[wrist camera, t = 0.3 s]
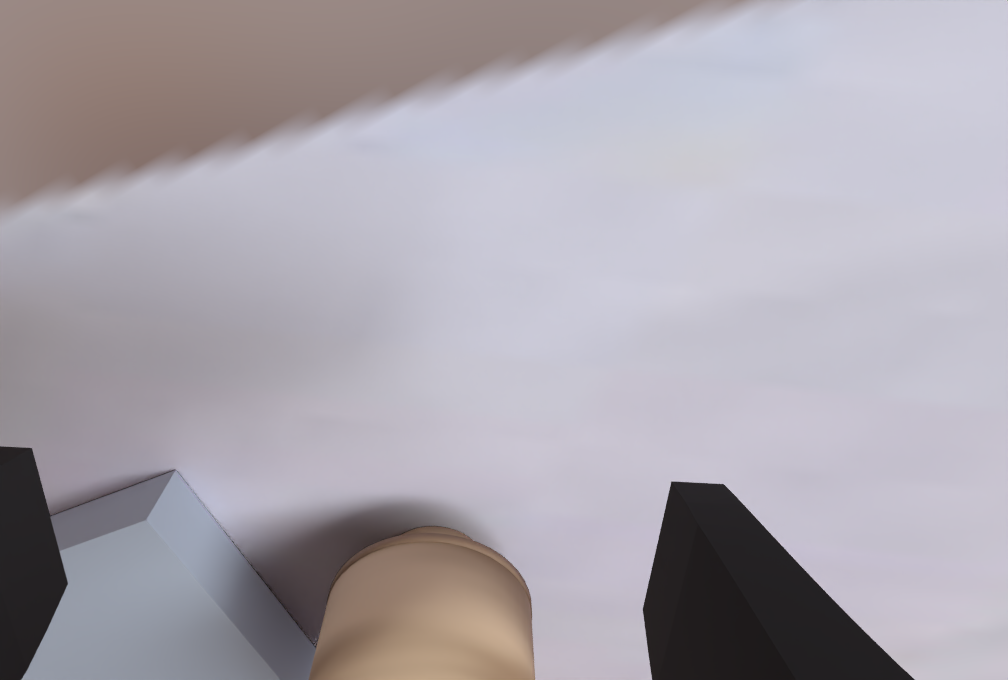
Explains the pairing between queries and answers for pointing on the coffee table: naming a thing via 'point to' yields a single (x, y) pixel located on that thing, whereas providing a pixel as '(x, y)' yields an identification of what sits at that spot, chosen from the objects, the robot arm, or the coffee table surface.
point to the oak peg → (426, 613)
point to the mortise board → (162, 597)
